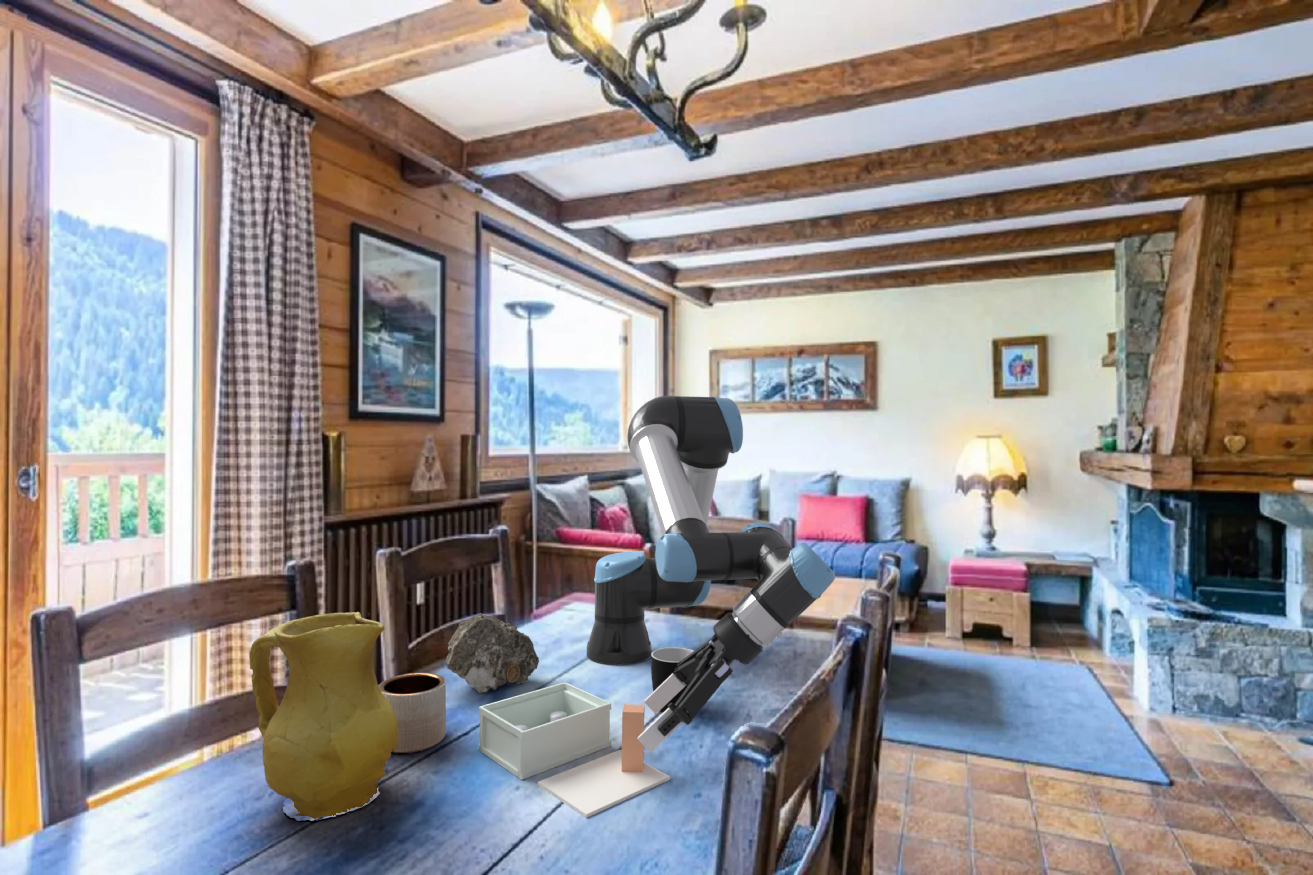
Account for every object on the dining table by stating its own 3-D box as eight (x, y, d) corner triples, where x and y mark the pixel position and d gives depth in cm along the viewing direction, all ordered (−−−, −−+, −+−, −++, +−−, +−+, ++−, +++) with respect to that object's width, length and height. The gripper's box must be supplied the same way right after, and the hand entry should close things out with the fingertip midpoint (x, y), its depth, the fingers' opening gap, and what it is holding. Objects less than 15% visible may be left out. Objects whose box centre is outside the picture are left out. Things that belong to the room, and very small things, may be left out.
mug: (674, 722, 124) (675, 665, 124) (640, 707, 130) (641, 653, 130) (718, 704, 132) (719, 651, 132) (683, 691, 138) (684, 641, 138)
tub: (564, 721, 123) (565, 682, 123) (610, 745, 114) (611, 703, 114) (478, 750, 112) (478, 706, 112) (521, 780, 102) (522, 732, 102)
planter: (459, 732, 118) (459, 676, 118) (417, 760, 108) (418, 699, 108) (406, 723, 122) (407, 668, 122) (361, 749, 112) (362, 690, 112)
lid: (619, 754, 111) (620, 694, 111) (669, 781, 103) (670, 716, 103) (537, 787, 101) (538, 720, 101) (586, 820, 92) (586, 747, 92)
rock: (492, 611, 133) (474, 583, 146) (437, 671, 130) (423, 636, 143) (555, 662, 141) (532, 630, 154) (504, 719, 138) (485, 682, 151)
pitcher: (309, 845, 85) (311, 638, 86) (230, 808, 94) (233, 623, 96) (423, 790, 99) (424, 613, 100) (344, 763, 109) (346, 602, 110)
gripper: (774, 675, 92) (661, 784, 93) (757, 624, 117) (667, 710, 118) (735, 634, 92) (621, 743, 93) (725, 592, 117) (636, 678, 118)
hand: (647, 725), depth 105 cm, fingers open, 13 cm apart
